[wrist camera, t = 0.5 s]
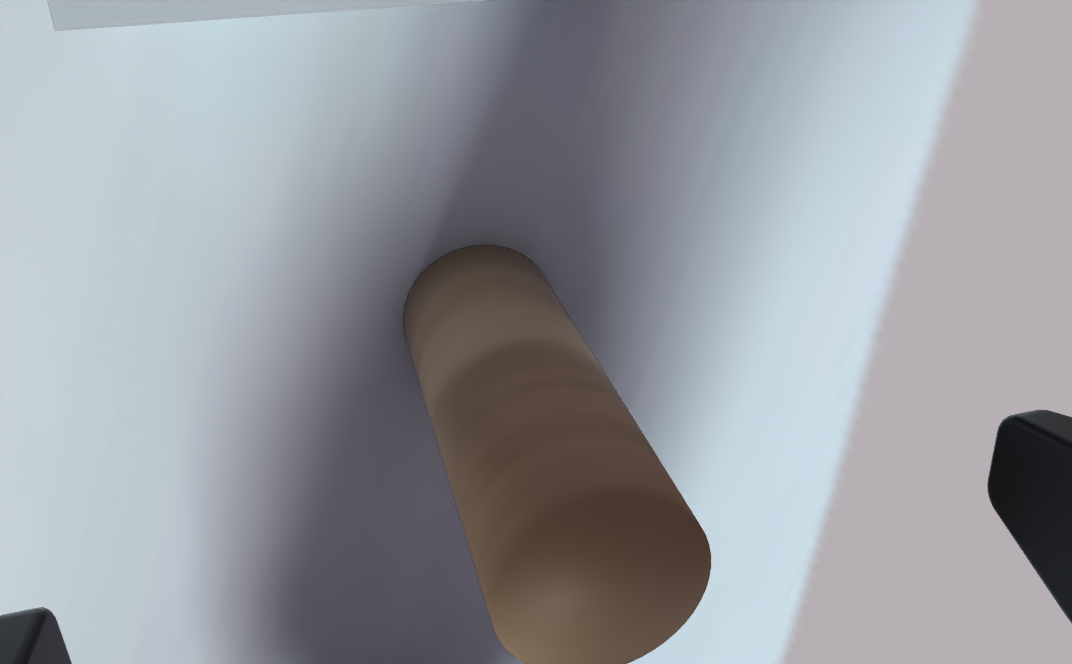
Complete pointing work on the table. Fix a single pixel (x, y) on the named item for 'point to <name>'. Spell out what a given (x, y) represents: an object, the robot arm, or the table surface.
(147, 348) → the table surface
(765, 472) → the table surface
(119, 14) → the grey and wooden blocks
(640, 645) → the peg
